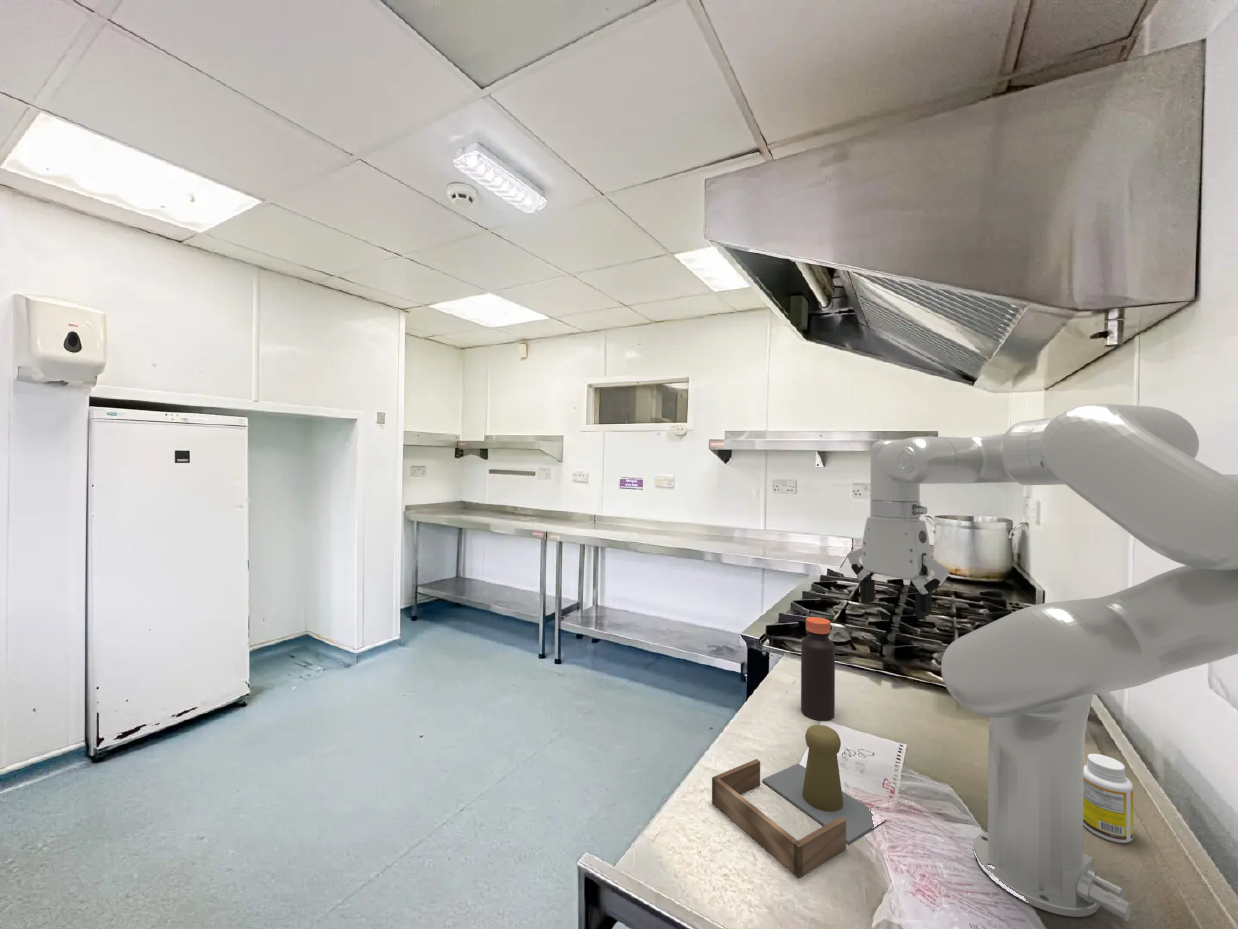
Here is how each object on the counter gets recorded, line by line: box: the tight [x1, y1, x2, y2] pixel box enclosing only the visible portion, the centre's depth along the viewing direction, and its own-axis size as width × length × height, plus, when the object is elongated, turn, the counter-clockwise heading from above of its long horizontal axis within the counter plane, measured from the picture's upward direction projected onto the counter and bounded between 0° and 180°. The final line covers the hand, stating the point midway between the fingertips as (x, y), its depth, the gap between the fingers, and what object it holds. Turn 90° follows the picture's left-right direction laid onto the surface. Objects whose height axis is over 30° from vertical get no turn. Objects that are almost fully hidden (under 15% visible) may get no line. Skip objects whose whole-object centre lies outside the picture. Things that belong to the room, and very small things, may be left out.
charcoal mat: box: [761, 763, 874, 845], centre depth 79 cm, size 16×9×1 cm, turn 31°
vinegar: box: [800, 616, 836, 722], centre depth 107 cm, size 7×7×20 cm
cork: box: [802, 724, 843, 812], centre depth 79 cm, size 6×6×11 cm
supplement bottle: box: [1083, 753, 1134, 844], centre depth 73 cm, size 6×6×10 cm
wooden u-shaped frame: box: [711, 758, 847, 879], centre depth 74 cm, size 17×10×4 cm, turn 31°
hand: (893, 609), depth 87 cm, fingers open, 9 cm apart
